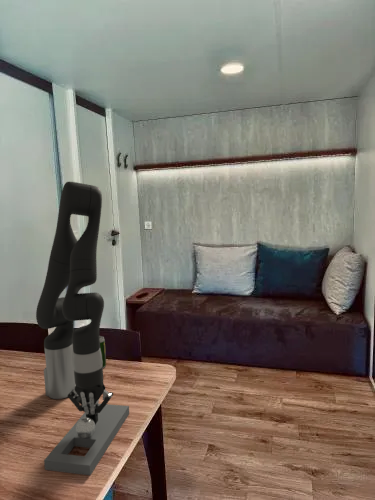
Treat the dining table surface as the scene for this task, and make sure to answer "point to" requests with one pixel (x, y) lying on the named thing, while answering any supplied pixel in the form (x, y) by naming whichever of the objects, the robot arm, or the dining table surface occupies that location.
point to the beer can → (103, 350)
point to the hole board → (87, 443)
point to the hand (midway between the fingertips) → (92, 424)
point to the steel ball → (85, 427)
